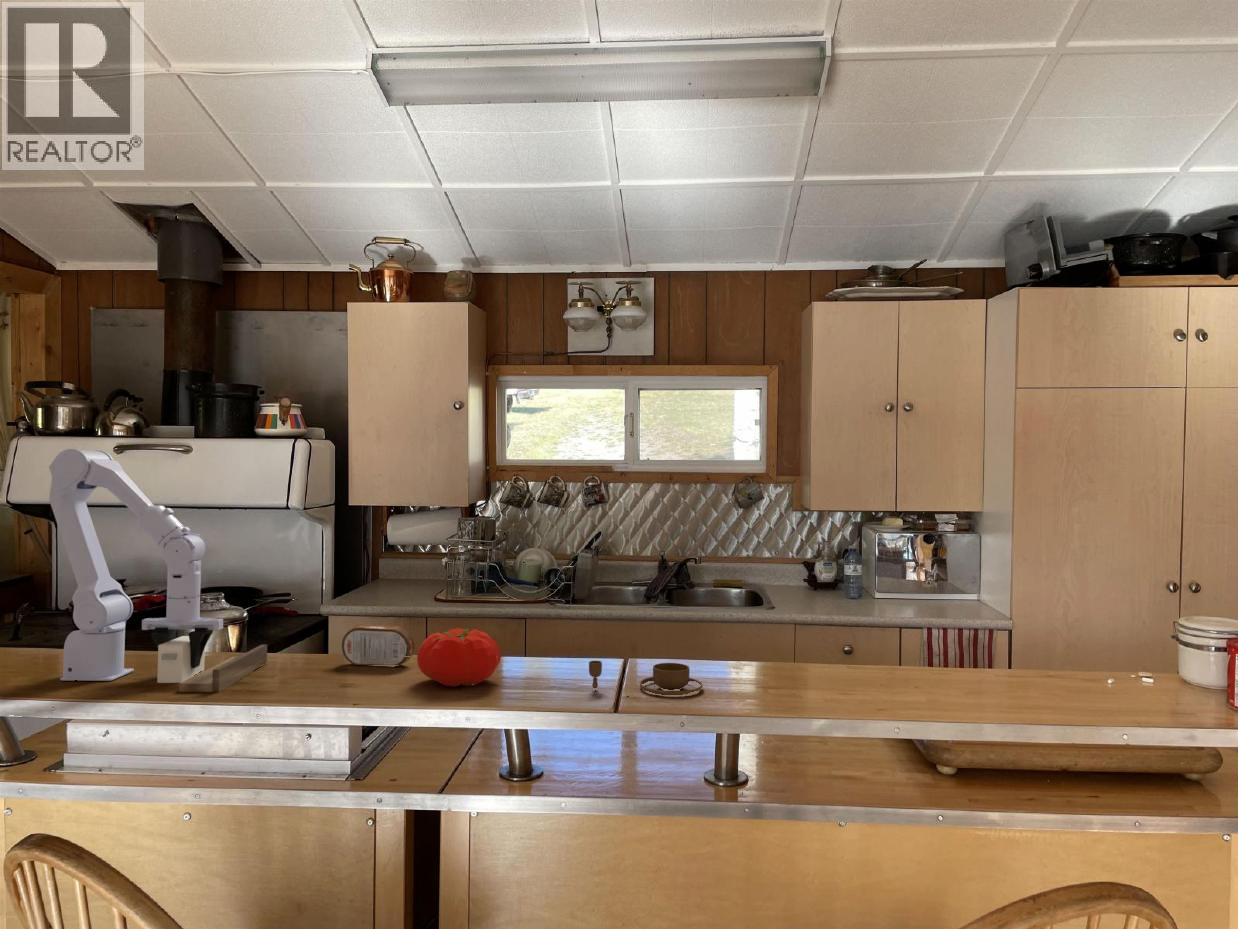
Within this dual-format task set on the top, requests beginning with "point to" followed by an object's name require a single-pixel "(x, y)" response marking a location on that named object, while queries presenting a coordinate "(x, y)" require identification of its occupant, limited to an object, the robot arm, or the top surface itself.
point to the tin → (377, 645)
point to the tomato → (459, 657)
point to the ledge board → (226, 672)
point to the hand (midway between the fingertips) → (181, 666)
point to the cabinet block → (176, 661)
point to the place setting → (657, 677)
